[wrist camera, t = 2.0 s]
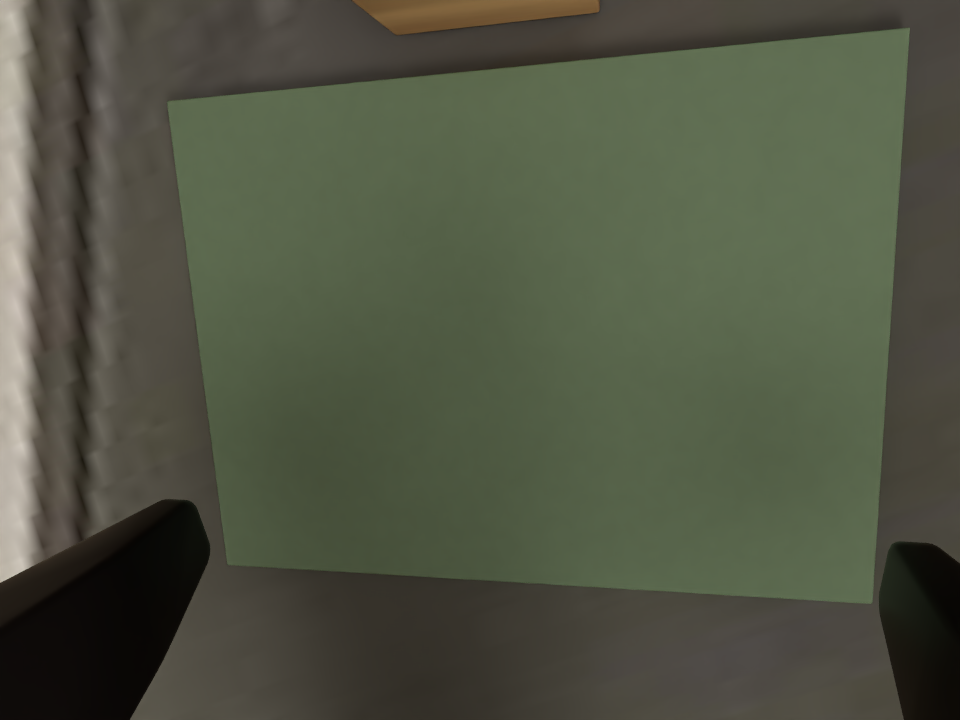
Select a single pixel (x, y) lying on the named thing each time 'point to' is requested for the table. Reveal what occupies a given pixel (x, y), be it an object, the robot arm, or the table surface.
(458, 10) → the maple block
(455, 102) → the green mat
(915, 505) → the table surface
